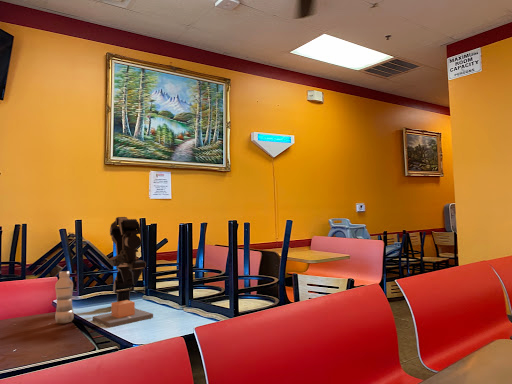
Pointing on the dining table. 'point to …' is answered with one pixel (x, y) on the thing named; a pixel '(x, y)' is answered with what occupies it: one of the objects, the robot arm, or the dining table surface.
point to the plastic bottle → (64, 298)
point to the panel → (114, 321)
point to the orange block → (123, 308)
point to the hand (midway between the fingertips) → (129, 283)
